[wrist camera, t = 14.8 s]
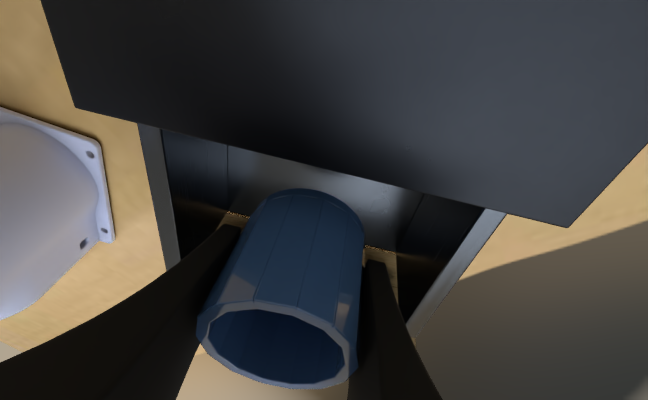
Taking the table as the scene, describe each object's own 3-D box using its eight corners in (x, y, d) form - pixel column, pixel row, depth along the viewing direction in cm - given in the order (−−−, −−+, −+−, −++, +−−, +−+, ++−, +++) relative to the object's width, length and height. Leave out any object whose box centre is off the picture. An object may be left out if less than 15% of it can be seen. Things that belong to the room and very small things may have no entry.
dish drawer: (380, 308, 24) (380, 400, 19) (217, 268, 24) (173, 349, 19) (527, 38, 12) (628, 91, 7) (204, -40, 12) (79, -43, 7)
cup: (385, 212, 12) (387, 337, 8) (341, 285, 15) (326, 403, 11) (264, 169, 11) (200, 277, 7) (244, 253, 14) (191, 362, 10)
